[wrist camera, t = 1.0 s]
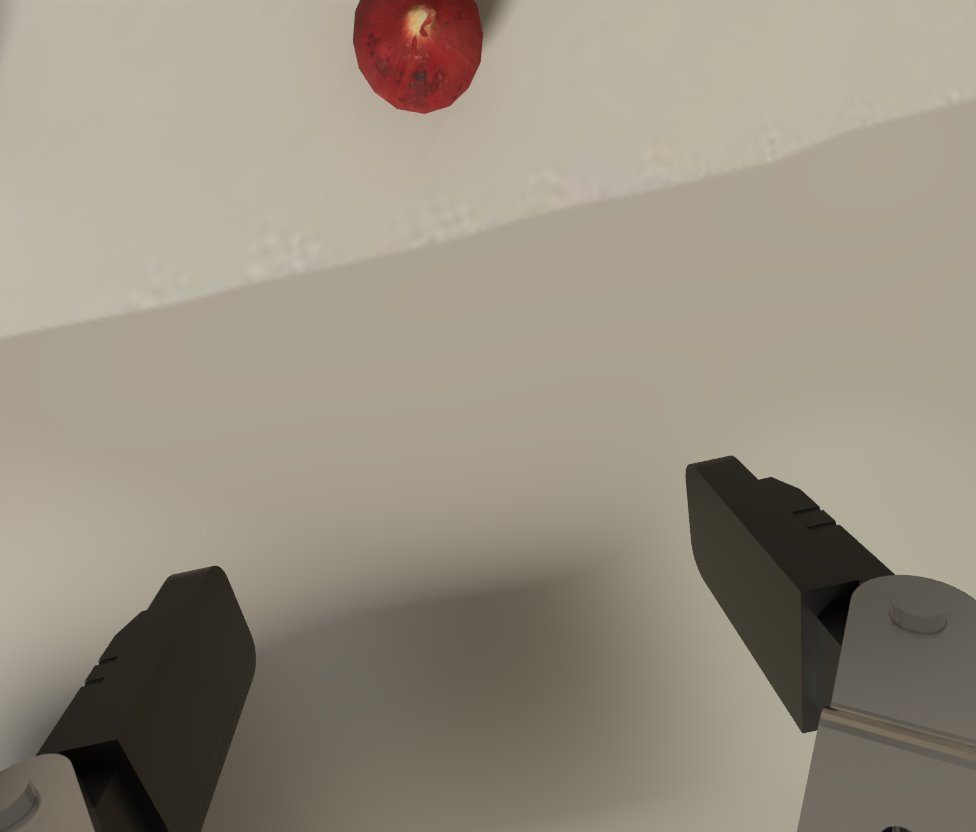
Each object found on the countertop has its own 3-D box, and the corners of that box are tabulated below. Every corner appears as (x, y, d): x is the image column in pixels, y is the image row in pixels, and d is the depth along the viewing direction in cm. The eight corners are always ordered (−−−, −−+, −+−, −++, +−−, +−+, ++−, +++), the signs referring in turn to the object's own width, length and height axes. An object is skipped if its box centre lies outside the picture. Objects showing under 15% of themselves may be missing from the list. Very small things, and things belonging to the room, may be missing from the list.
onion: (467, 125, 34) (481, 115, 27) (356, 107, 33) (338, 91, 26) (482, -2, 32) (502, -51, 25) (364, -24, 32) (348, -83, 24)
